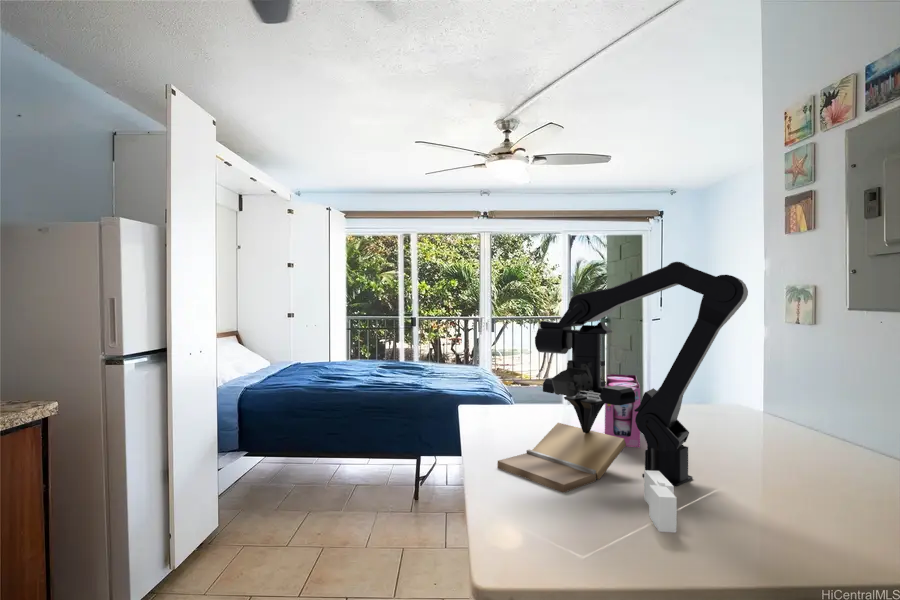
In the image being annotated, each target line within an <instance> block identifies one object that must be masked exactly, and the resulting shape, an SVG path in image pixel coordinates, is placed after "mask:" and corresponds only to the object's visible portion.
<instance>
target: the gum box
mask: <svg viewBox="0 0 900 600" xmlns="http://www.w3.org/2000/svg"><path fill="white" fill-rule="evenodd" d="M605 377H606V378H605V386H604V387H610V386H616V385H617V386H624V387H630V388H632V389H633V391H634V393H635V402H634V403H629V404H625V405H611V404H606V403H604V434H607V435H611V436H616V437H620V438H624V440H625V443H626V446H625V447H630V448H631V447H632V448H641V432H640V431H639V429H638V428H637V425H636V422H635V418H636V415H637V413H638V412H635V411H634V410H635V409H636V408H638V407H639V405H640V404H641V384H640V383H639V381H638V379H637V375H636V374H635V375H634V374H617V373H607V374H606V376H605Z"/></svg>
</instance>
